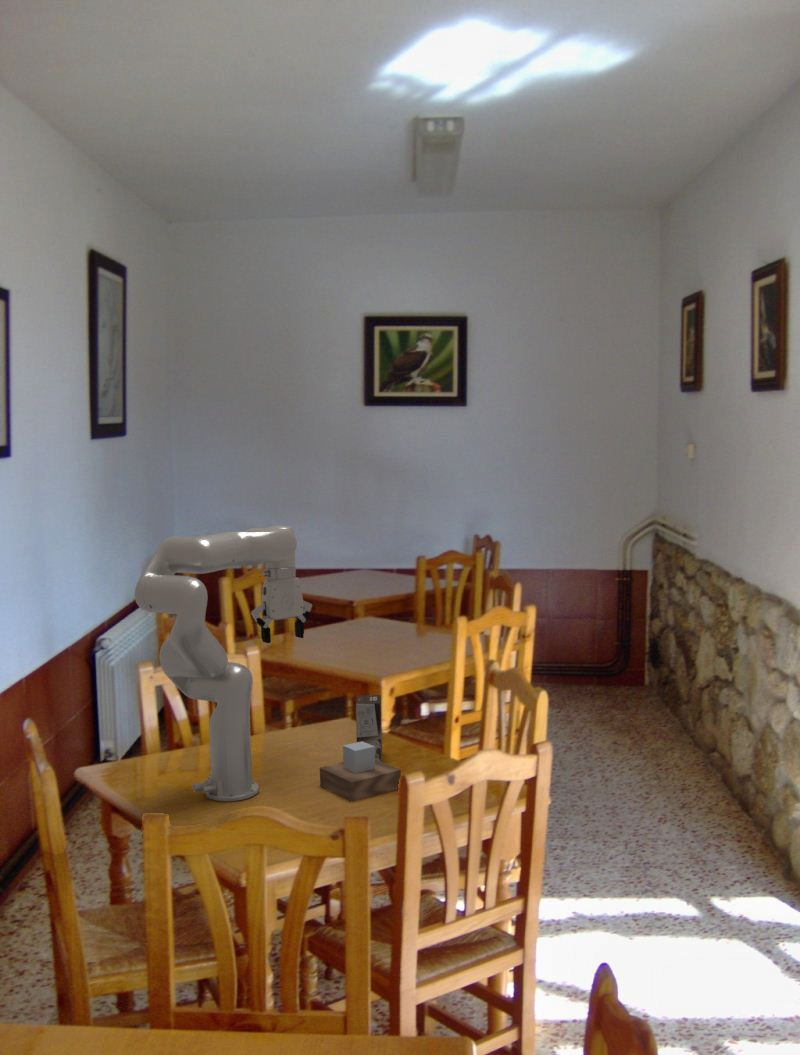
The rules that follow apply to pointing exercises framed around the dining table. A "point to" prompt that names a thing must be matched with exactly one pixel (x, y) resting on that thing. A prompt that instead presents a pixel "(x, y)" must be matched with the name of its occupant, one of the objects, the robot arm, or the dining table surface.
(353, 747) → the grey blue cube
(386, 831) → the dining table surface
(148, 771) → the dining table surface
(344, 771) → the walnut block
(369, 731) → the coffee box
